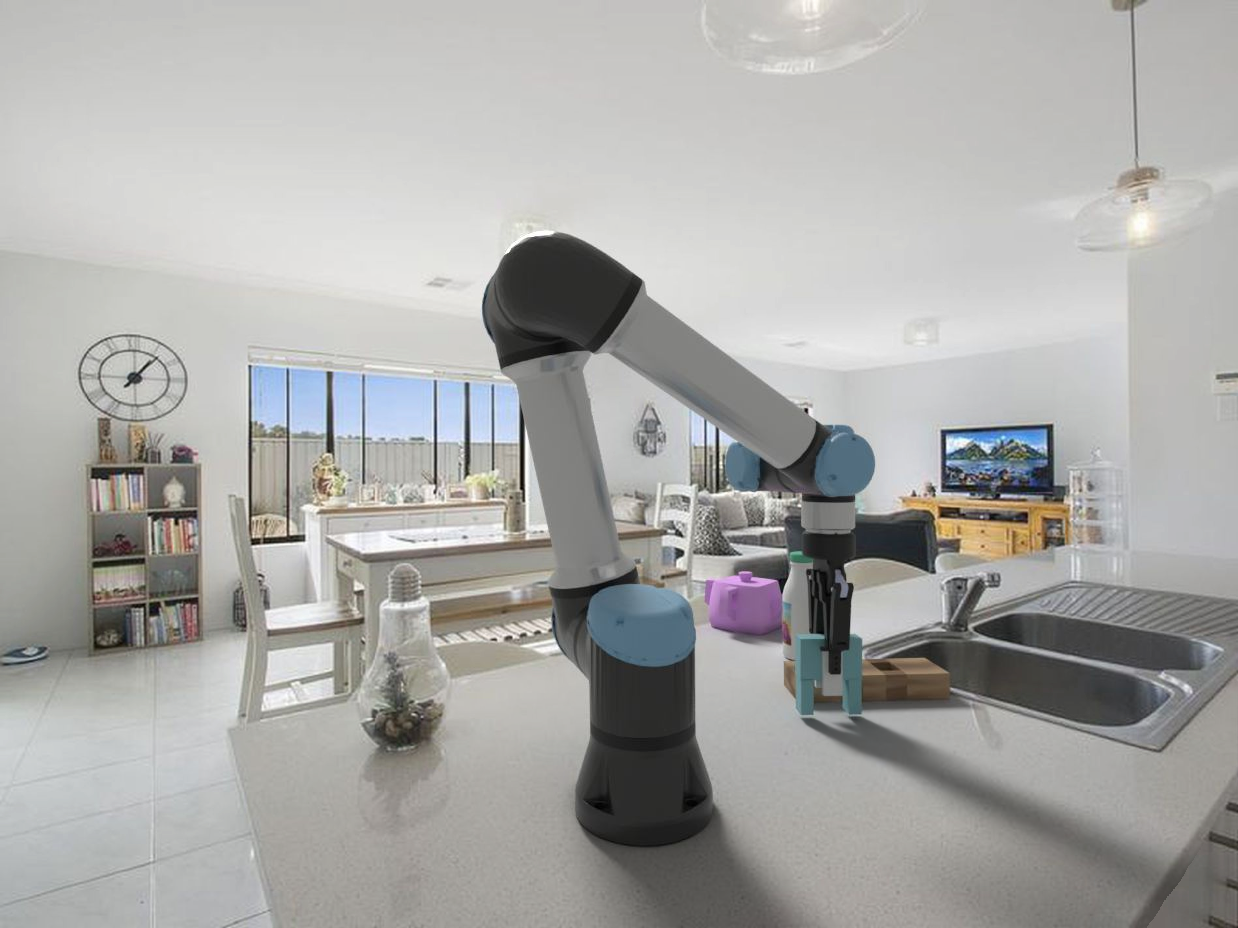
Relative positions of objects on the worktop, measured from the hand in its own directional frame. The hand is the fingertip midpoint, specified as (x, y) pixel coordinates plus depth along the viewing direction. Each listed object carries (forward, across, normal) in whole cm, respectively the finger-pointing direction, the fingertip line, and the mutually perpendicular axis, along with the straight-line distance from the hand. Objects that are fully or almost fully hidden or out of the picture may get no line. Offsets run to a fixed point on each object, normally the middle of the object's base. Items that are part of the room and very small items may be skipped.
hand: (828, 690), depth 95 cm
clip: (+3, 0, 0) cm, 3 cm away
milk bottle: (+4, +29, -6) cm, 30 cm away
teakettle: (+4, +53, 0) cm, 53 cm away
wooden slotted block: (+4, +10, -10) cm, 14 cm away
